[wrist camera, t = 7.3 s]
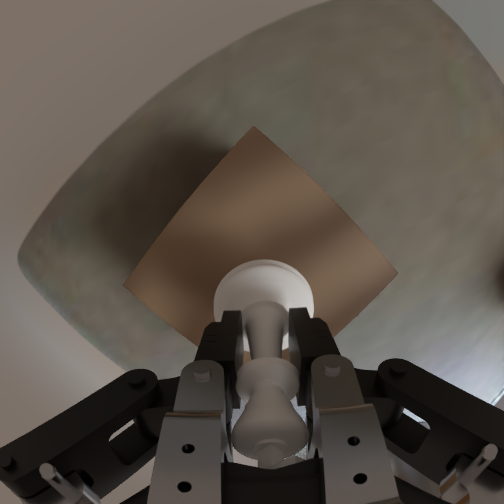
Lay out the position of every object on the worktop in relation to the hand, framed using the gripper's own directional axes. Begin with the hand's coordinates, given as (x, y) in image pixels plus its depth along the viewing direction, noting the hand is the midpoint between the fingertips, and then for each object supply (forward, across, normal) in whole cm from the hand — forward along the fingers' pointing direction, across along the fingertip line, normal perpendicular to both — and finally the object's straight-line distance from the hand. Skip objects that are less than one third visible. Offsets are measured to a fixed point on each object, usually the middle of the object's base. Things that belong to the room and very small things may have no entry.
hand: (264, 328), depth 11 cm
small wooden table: (+12, 0, 0) cm, 12 cm away
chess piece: (+2, 0, 0) cm, 2 cm away
